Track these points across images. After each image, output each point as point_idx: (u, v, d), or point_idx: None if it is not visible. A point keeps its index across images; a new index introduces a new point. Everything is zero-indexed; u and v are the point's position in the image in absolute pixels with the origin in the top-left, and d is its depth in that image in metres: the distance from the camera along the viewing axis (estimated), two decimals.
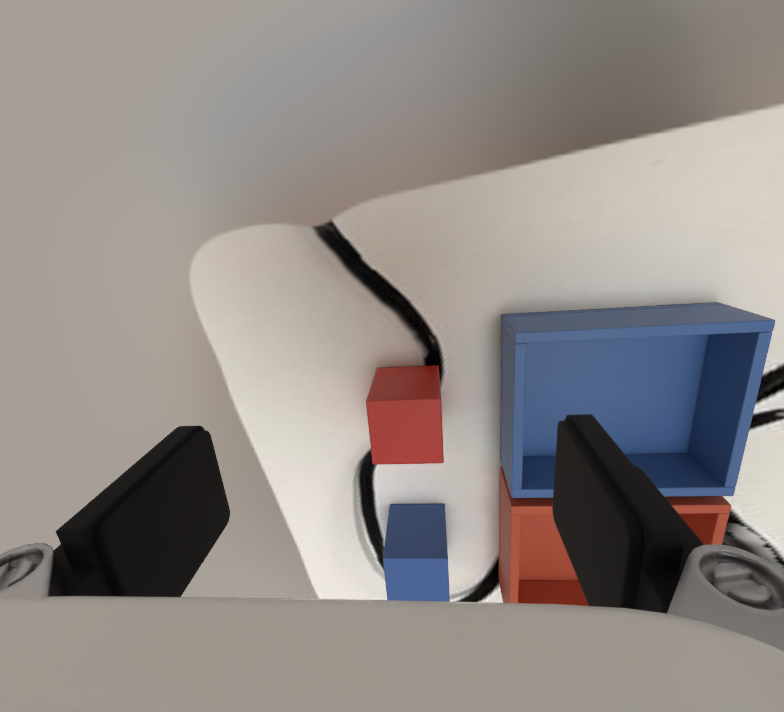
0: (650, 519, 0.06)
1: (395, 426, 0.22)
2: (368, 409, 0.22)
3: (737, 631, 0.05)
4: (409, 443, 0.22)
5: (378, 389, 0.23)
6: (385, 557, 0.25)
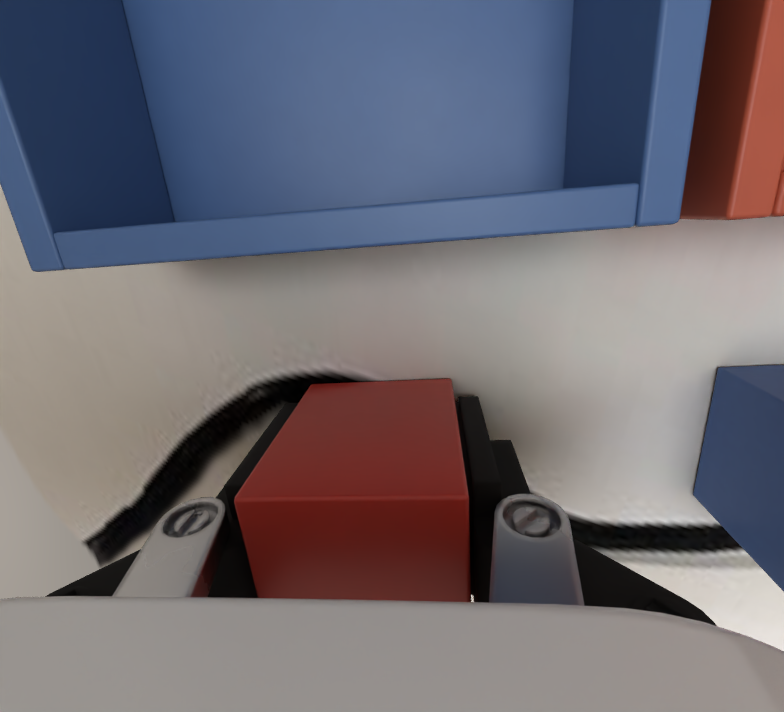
0: (478, 474, 0.08)
1: None
2: None
3: (538, 561, 0.06)
4: (394, 581, 0.07)
5: None
6: None
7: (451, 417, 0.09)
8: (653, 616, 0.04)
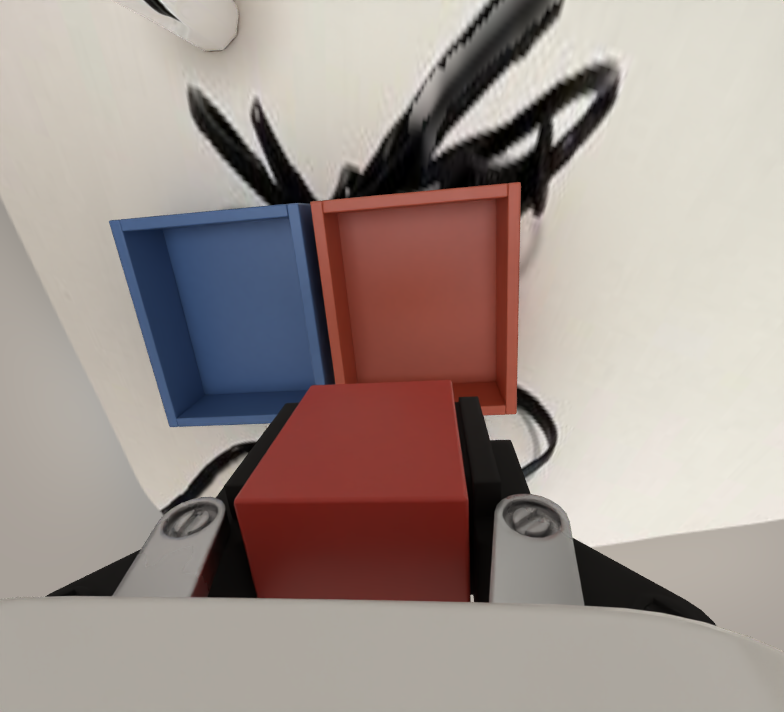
0: (478, 474, 0.08)
1: None
2: None
3: (537, 561, 0.06)
4: (394, 583, 0.07)
5: None
6: None
7: (450, 419, 0.09)
8: (654, 616, 0.04)
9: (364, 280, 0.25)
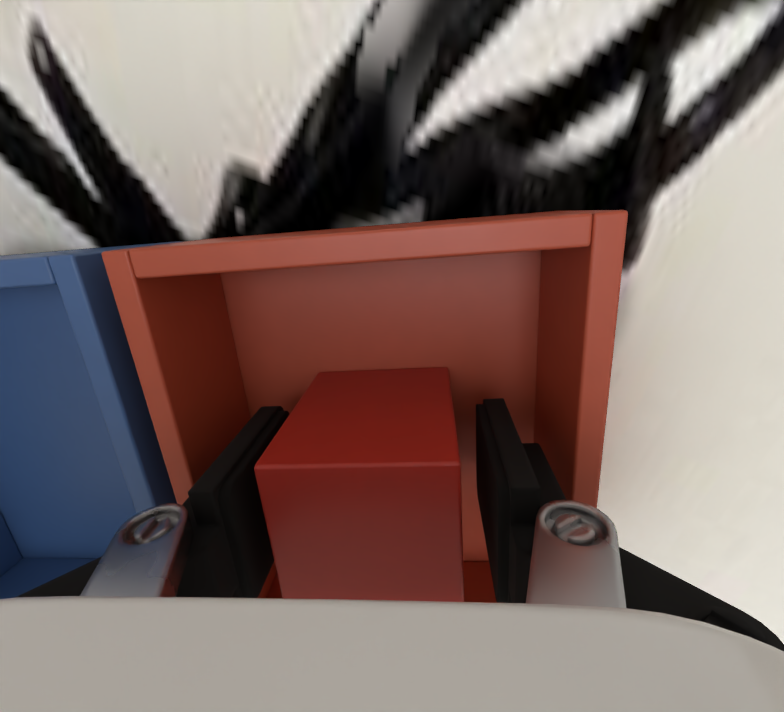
0: (515, 480, 0.07)
1: (345, 566, 0.08)
2: None
3: (579, 569, 0.06)
4: (395, 540, 0.08)
5: None
6: None
7: (446, 400, 0.10)
8: (654, 616, 0.04)
9: (279, 385, 0.13)
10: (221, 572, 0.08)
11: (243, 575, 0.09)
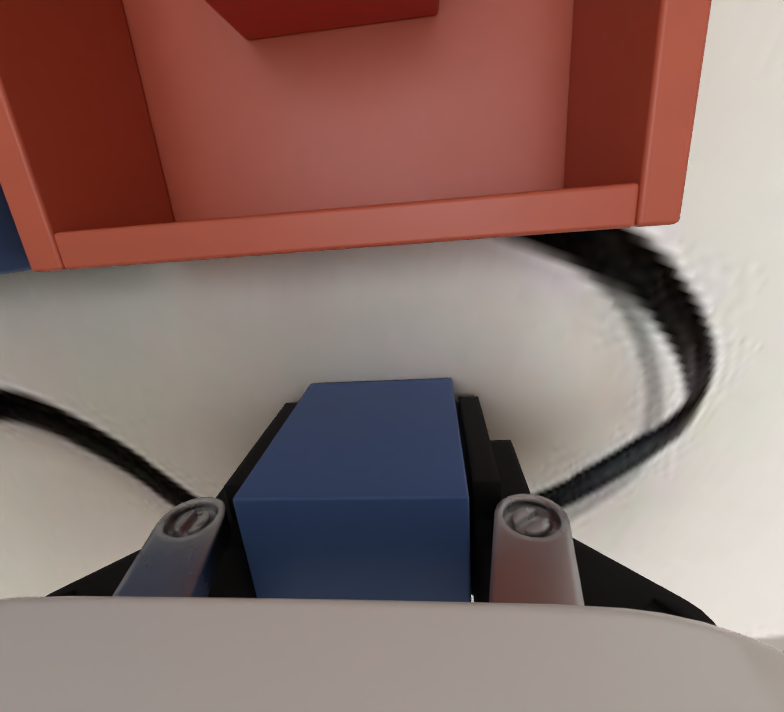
0: (478, 474, 0.08)
1: None
2: None
3: (537, 561, 0.06)
4: None
5: None
6: None
7: None
8: (653, 616, 0.04)
9: None
10: None
11: None
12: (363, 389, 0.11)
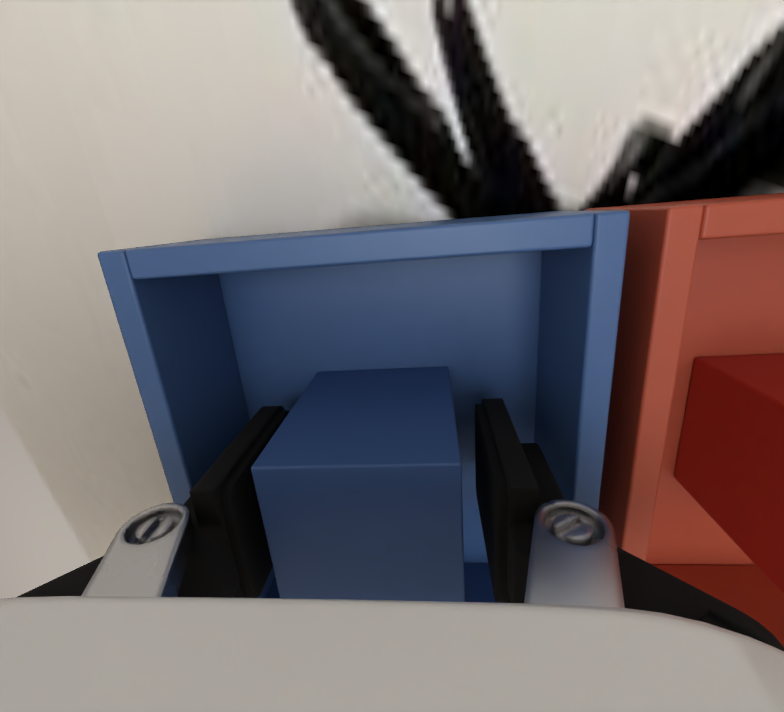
0: (513, 480, 0.07)
1: None
2: None
3: (577, 569, 0.06)
4: None
5: (764, 553, 0.09)
6: None
7: None
8: (653, 616, 0.04)
9: None
10: (223, 572, 0.08)
11: (244, 575, 0.09)
12: (366, 376, 0.12)
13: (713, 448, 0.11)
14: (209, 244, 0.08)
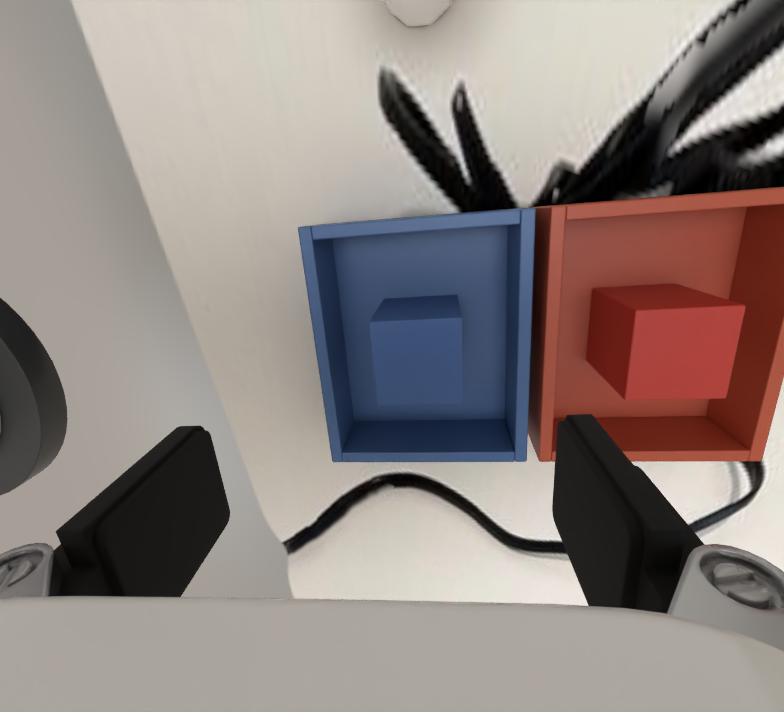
0: (650, 519, 0.06)
1: (669, 367, 0.17)
2: (637, 398, 0.17)
3: (737, 631, 0.05)
4: (701, 350, 0.16)
5: (612, 376, 0.19)
6: None
7: (701, 292, 0.18)
8: (654, 616, 0.04)
9: (564, 297, 0.21)
10: None
11: None
12: (412, 299, 0.21)
13: (598, 334, 0.20)
14: (350, 223, 0.18)
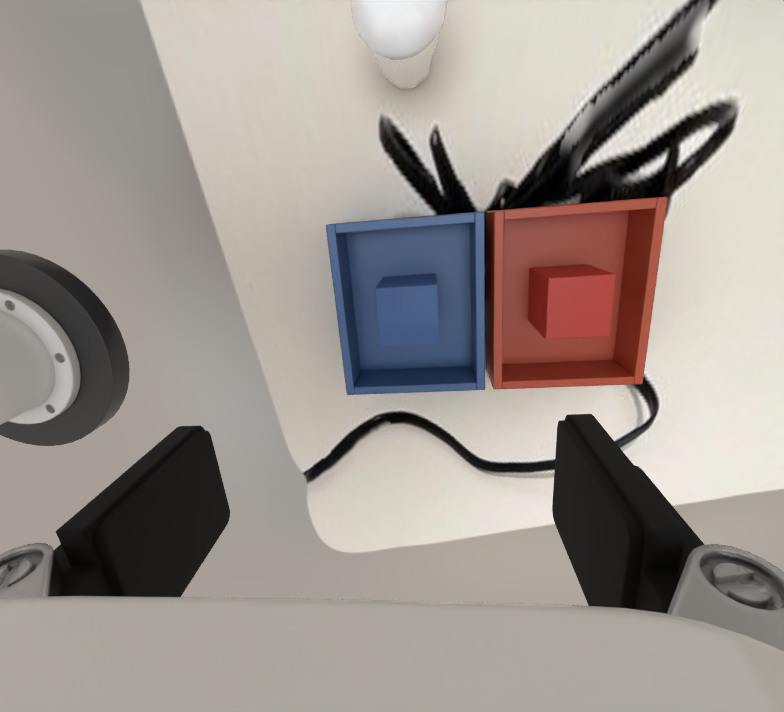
0: (650, 519, 0.06)
1: (571, 315, 0.26)
2: (553, 338, 0.26)
3: (737, 631, 0.05)
4: (591, 303, 0.25)
5: (539, 326, 0.27)
6: (380, 344, 0.27)
7: (596, 268, 0.27)
8: (654, 616, 0.04)
9: (511, 274, 0.30)
10: None
11: None
12: (403, 276, 0.30)
13: (532, 299, 0.29)
14: (361, 222, 0.26)
